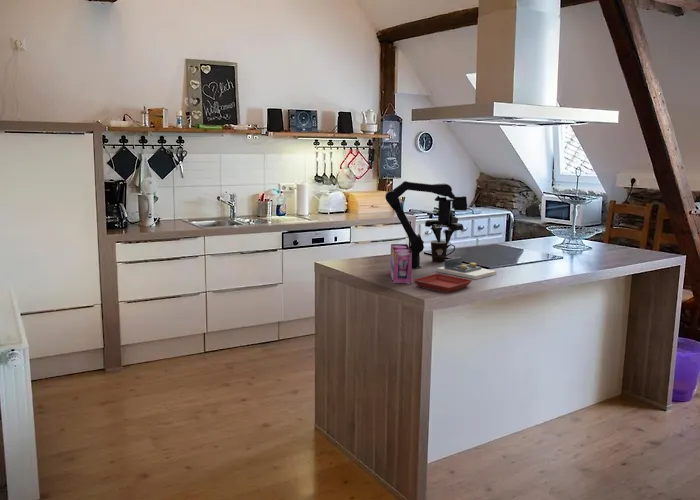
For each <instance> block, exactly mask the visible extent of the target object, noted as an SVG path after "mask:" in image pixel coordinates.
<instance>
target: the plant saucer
mask: <svg viewBox="0 0 700 500" xmlns="http://www.w3.org/2000/svg"><path fill="white" fill-rule="evenodd" d="M472 280H473V279H469V278H468V279H467V278H464V277H459V276H458V277H456V276H454V275H449V274H448V275H447V274H443V273H442V274H441V273H433V274H429V275H426V276H422V277H418V278H413V279H412V281H413V283H415V284H416V285H417V286H418V287H419V286H420V288H422V287H424V288H423V289H427V288H429V289H428V290H432V289H434V290H433V291H437V290H439V292H442V291H444V292H443V293H447V292H448V293H451V292H455V291H458V290H460V289H461V290H462V289H463V288H466V287H467V286H469V285H470V283H472Z"/></svg>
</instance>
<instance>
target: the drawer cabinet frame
mask: <svg viewBox="0 0 700 500" xmlns="http://www.w3.org/2000/svg"><path fill="white" fill-rule="evenodd" d="M460 265H467V268H465V270H463V269H462V268H460ZM443 267H444V268H445V269H450V270H455V271H460V272H465V273H466V272H470V271H475V270H479V269H481V268H482V266H478V265H476V266H474V268H472V267H471V266H469V263H463V257H462V256H458V257H457V256H456V257H453V258H448V259H445V262H444V266H443Z"/></svg>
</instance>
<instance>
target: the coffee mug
mask: <svg viewBox="0 0 700 500" xmlns="http://www.w3.org/2000/svg"><path fill="white" fill-rule="evenodd" d="M450 246H452V247H453V250H452V251H451V252H449V253H448V254H447V251H448V249H449V247H450ZM430 249H431V250H430V251H431V262H433V263H438V264H439V263H445V260H446V258H447V256H449V255H451V254H452V253H454V252H455V250H456V246H455V245H454V244H453V243H450V244H449V243H448V244H446V240H440V243H438V241H437V239H436V240H431V241H430Z"/></svg>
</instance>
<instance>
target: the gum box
mask: <svg viewBox="0 0 700 500" xmlns="http://www.w3.org/2000/svg"><path fill="white" fill-rule="evenodd" d="M389 266H390V270H389V271H390V276H391V279H392V280H393V281H392V283H411V284H412V270H413V269H412V251H411V250H410V248H409V245H408V243H405V244H404V243H403V244H402V243H391V244H390V265H389Z"/></svg>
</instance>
